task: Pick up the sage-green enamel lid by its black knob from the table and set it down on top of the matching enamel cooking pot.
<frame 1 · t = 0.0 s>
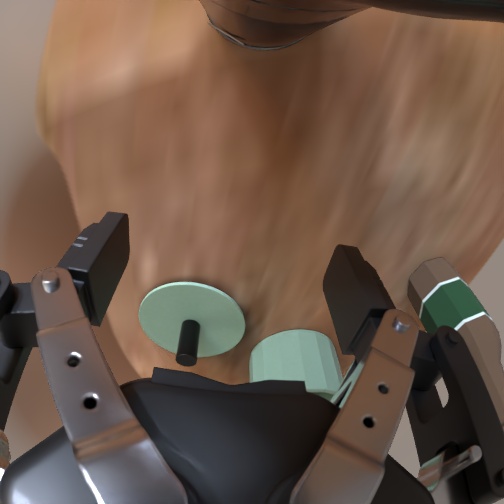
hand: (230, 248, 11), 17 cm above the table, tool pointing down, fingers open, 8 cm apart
lid: (191, 322, 37), point 1 cm above the table
beer bottle: (428, 278, 36), on the table
pot: (292, 356, 43), on the table
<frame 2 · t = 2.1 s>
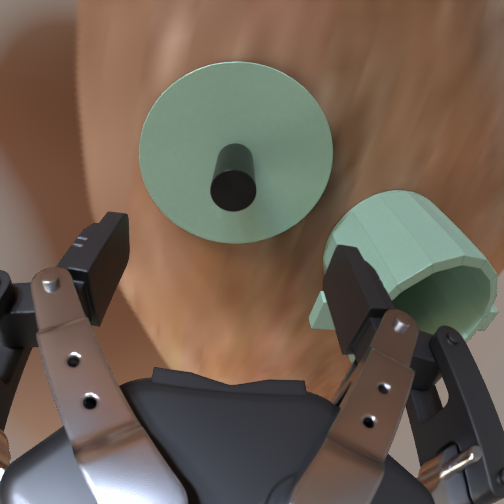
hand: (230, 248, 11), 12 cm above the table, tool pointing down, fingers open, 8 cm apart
lid: (235, 157, 20), point 1 cm above the table
pot: (387, 252, 26), on the table
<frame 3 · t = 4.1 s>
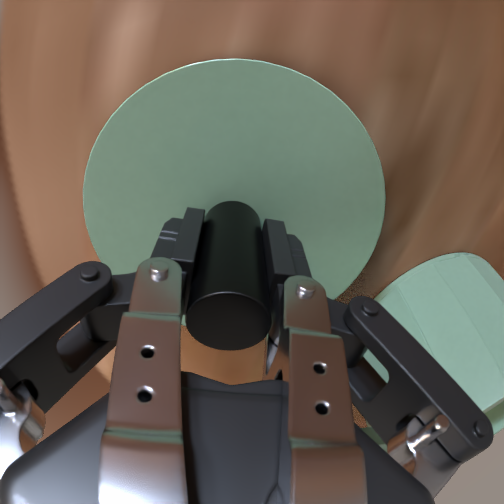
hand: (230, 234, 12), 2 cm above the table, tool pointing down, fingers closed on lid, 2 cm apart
lid: (232, 220, 13), point 1 cm above the table, touching gripper
pot: (427, 323, 19), on the table
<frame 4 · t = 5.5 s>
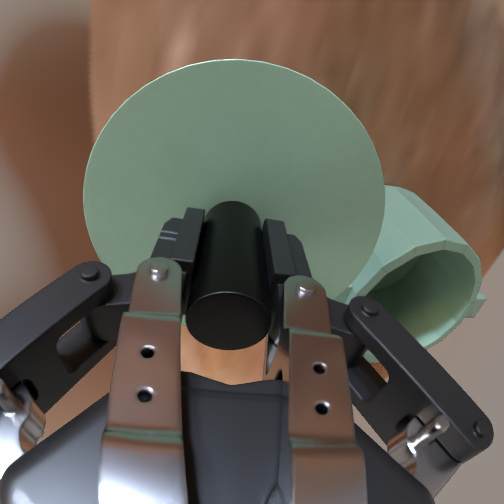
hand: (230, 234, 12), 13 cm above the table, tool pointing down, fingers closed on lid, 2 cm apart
lid: (232, 220, 13), point 12 cm above the table, touching gripper
pot: (377, 244, 28), on the table
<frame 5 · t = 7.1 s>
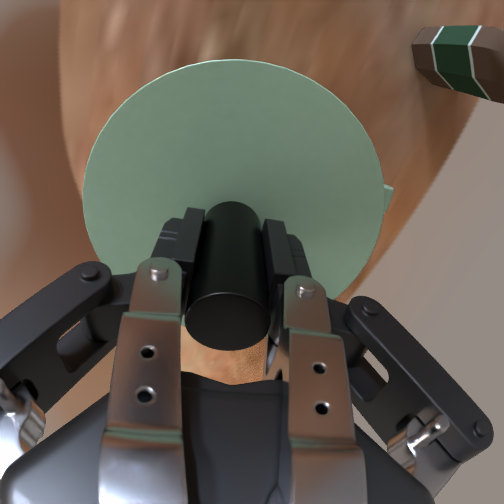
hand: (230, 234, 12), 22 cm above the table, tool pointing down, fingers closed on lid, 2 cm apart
lid: (231, 220, 13), point 21 cm above the table, touching gripper
beer bottle: (434, 56, 24), on the table
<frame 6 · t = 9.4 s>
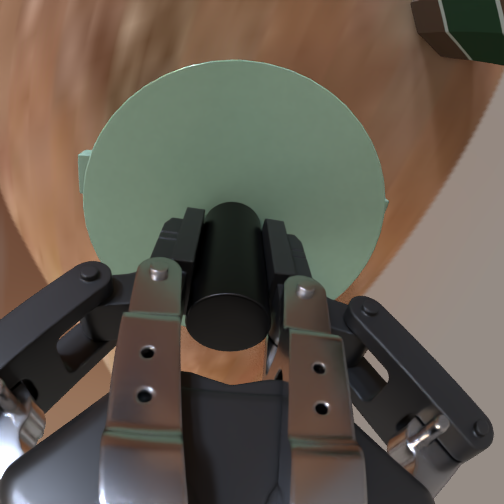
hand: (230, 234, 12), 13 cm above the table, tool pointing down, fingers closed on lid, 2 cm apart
lid: (232, 221, 13), point 12 cm above the table, touching gripper
beer bottle: (442, 21, 16), on the table
pot: (235, 149, 23), on the table
when the fingers open (11 cm above the table, at t = 10.4 s): lid stays where it is, resting on pot.
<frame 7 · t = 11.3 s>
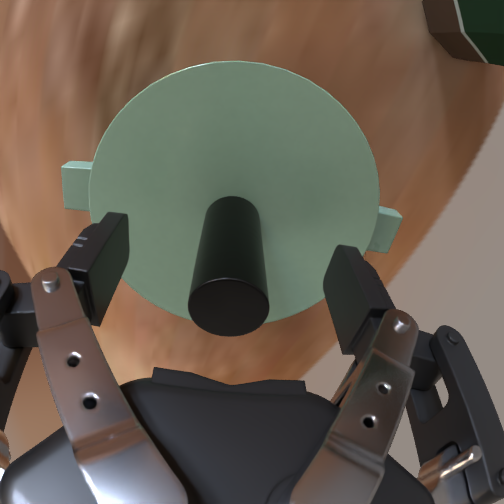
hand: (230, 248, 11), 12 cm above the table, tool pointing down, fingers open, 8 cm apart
lid: (232, 215, 14), point 9 cm above the table, touching pot
beer bottle: (454, 21, 14), on the table
pot: (235, 156, 22), on the table
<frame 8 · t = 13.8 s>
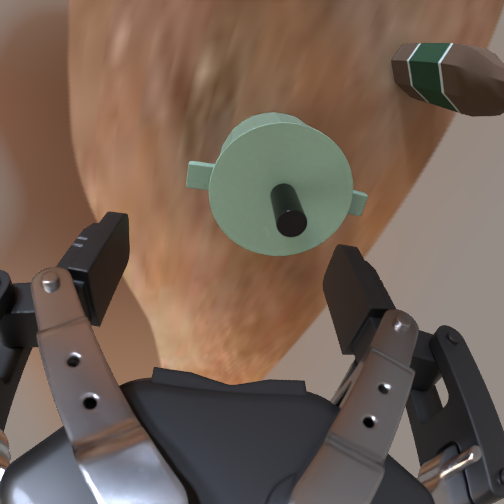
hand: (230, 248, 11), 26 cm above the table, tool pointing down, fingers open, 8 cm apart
lid: (282, 193, 28), point 9 cm above the table, touching pot
beer bottle: (414, 70, 29), on the table
pot: (272, 162, 36), on the table
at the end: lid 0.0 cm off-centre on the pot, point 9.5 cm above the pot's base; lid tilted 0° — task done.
